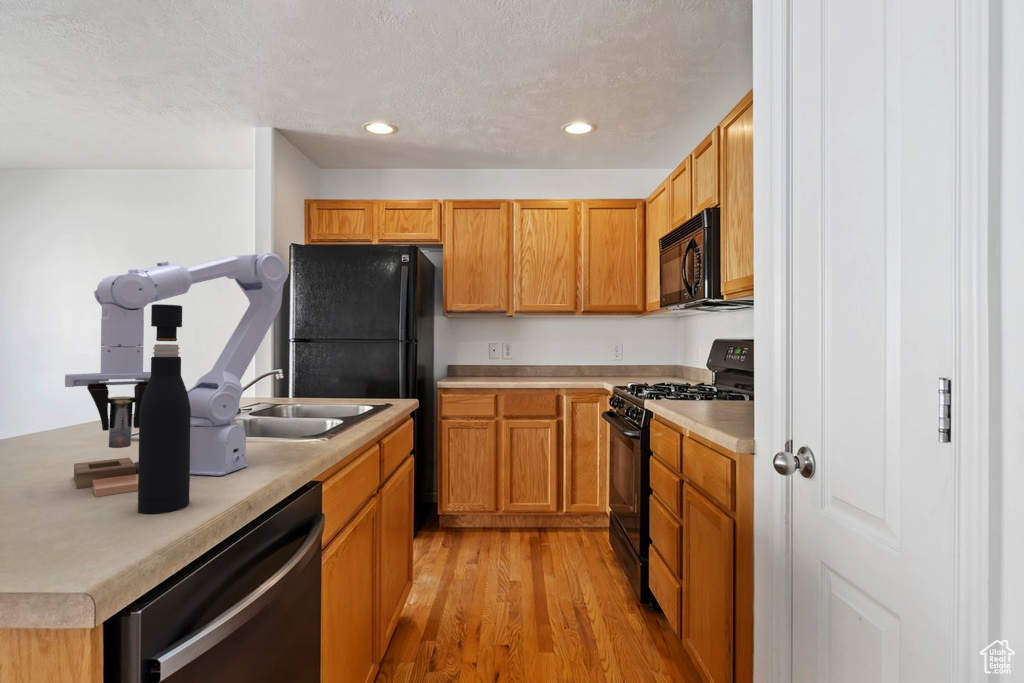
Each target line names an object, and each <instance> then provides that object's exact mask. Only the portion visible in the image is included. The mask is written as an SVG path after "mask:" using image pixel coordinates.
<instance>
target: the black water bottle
mask: <svg viewBox="0 0 1024 683" xmlns="http://www.w3.org/2000/svg"><path fill="white" fill-rule="evenodd" d="M150 306H151V309H150V310H151V312H150V314H151V315H150V316H151V317H150V320H151V321H150V327H153V328H155V327H156V338H155V340H156V342H177V340H178V338H177V336H178V335H177V333H178V332H177V329H178V328H183V306H182V305H179V304H163V303H162V304H159V303H158V304H156V303H155V304H151V305H150ZM153 346H154V347H152V348H153V351H152V354H153V356H152V357H150V372H151V376H150V379H149V381H148V384H147V386H146V389H145V391H144V394H143V397H142V401H141V406H140V411H139V428H138V462H139V465H138V491H137V493H138V494H137V512H139V513H141V514H147V515H148V514H150V515H152V514H153V515H155V514H164V513H171V512H174V511H175V512H176V511H179V510H181V509H184V508H187V507H188V506H189V505H190V486H191V485H190V476H191V474H190V424H191V408H190V402H189V398H188V393H187V391H188V390H187V388H186V385H185V383H184V380H183V377H182V357H181V356H179V355H180V352H179V350H180V349H181V347H179V344H160V343H159V344H158V343H156V344H154V345H153Z"/></svg>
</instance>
